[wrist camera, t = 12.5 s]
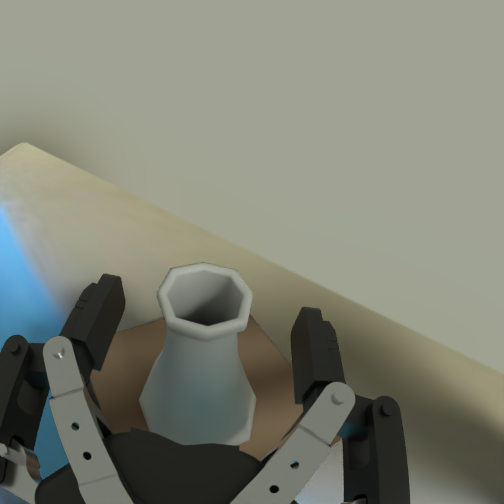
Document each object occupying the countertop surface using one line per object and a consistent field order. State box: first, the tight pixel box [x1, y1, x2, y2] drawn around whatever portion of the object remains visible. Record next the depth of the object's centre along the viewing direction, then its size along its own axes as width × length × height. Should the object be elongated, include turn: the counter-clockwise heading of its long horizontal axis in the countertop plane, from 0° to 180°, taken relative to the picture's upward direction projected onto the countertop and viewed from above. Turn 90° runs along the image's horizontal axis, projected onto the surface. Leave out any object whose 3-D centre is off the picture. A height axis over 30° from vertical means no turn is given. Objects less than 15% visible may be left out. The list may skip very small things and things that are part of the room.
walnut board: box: [90, 314, 342, 461], centre depth 15 cm, size 14×14×1 cm
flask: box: [139, 262, 257, 445], centre depth 12 cm, size 7×7×10 cm
